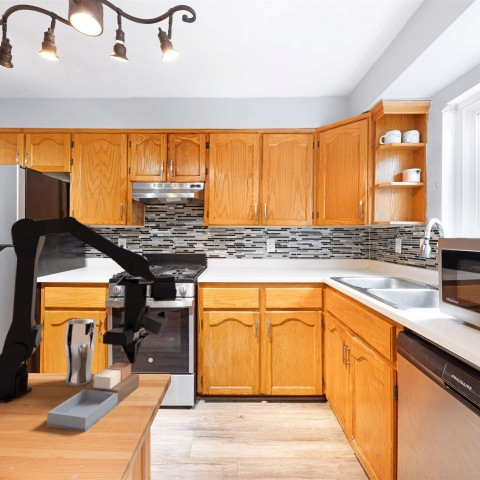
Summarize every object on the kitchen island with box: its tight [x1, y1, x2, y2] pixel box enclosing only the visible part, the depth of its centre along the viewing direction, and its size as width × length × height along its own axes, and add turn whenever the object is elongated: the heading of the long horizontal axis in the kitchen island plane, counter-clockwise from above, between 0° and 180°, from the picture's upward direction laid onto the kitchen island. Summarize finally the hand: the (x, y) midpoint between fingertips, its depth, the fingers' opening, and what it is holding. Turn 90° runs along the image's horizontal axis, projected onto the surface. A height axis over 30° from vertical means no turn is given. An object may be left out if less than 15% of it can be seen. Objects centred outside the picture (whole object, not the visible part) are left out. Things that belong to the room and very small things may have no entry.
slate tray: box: [46, 388, 119, 433], centre depth 62 cm, size 8×10×2 cm
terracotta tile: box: [105, 361, 132, 381], centre depth 73 cm, size 4×4×2 cm
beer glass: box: [64, 317, 97, 387], centre depth 78 cm, size 7×7×15 cm
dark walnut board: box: [84, 373, 140, 405], centre depth 71 cm, size 8×9×3 cm
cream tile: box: [93, 368, 121, 389], centre depth 69 cm, size 4×4×2 cm
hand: (132, 363), depth 80 cm, fingers closed
